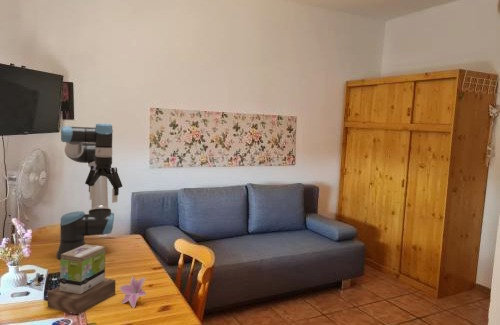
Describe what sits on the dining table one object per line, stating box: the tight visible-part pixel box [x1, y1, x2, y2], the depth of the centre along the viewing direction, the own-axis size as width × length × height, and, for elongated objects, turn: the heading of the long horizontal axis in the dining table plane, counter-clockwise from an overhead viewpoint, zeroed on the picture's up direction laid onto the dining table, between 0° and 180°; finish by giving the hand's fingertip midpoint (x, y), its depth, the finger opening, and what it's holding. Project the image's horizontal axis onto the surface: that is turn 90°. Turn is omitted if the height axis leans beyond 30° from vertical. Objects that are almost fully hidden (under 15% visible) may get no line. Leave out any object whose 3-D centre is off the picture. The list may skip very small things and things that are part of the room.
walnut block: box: [47, 277, 116, 315], centre depth 148 cm, size 15×20×6 cm
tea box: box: [59, 243, 107, 294], centre depth 148 cm, size 15×10×15 cm, turn 167°
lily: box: [119, 276, 147, 309], centre depth 149 cm, size 12×12×10 cm
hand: (103, 200), depth 176 cm, fingers open, 13 cm apart
